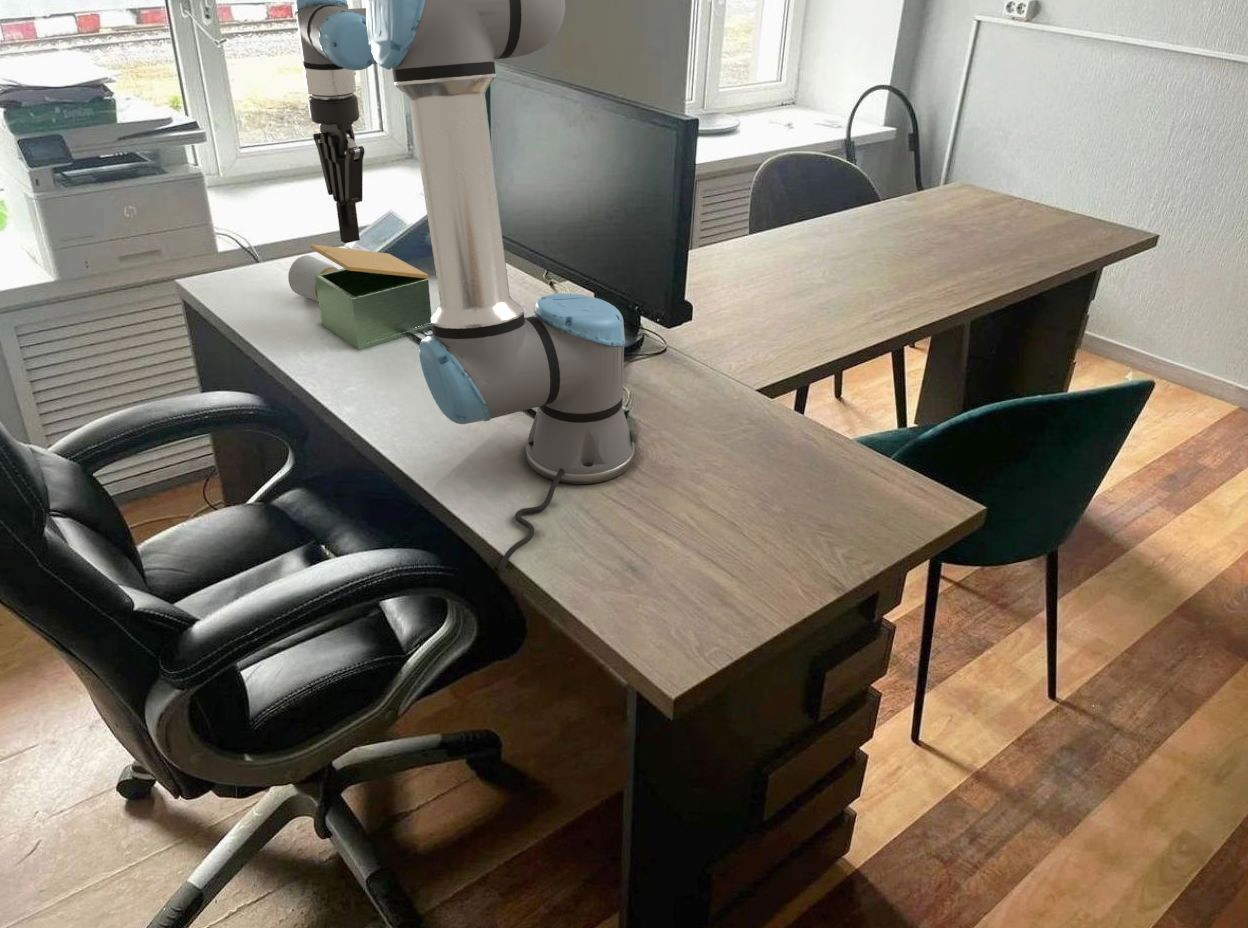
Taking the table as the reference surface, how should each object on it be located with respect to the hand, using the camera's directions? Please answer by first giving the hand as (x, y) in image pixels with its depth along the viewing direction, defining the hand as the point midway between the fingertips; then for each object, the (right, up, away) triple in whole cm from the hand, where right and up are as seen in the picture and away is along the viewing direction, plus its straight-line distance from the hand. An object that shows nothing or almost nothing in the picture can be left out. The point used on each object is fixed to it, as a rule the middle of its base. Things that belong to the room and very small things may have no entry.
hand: (350, 240), depth 169 cm
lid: (+2, -3, +4) cm, 6 cm away
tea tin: (+2, -13, +10) cm, 17 cm away
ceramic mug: (-11, -6, +22) cm, 25 cm away
